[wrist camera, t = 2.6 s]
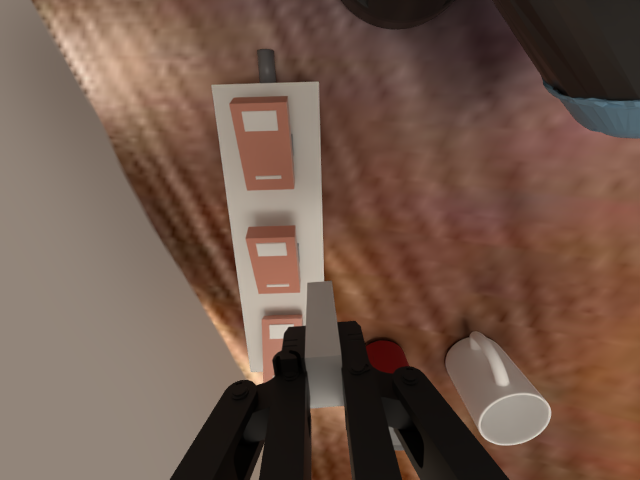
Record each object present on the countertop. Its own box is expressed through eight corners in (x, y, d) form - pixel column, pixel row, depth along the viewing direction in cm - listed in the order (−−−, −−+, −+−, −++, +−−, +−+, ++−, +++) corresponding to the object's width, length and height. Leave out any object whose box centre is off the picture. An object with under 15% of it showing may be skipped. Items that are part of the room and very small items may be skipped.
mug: (434, 321, 42) (470, 378, 32) (494, 305, 41) (548, 360, 32) (447, 384, 46) (482, 452, 36) (502, 371, 45) (552, 437, 36)
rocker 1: (233, 97, 25) (228, 104, 24) (287, 95, 25) (286, 102, 24) (249, 181, 31) (246, 191, 29) (294, 180, 31) (294, 189, 29)
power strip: (218, 57, 31) (199, 43, 26) (317, 54, 31) (318, 40, 26) (255, 351, 43) (247, 379, 38) (325, 349, 43) (326, 376, 38)
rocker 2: (248, 226, 29) (245, 239, 28) (295, 225, 29) (294, 238, 28) (260, 281, 35) (258, 294, 33) (300, 280, 35) (300, 293, 33)
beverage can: (347, 352, 44) (359, 430, 32) (386, 328, 42) (411, 400, 31) (374, 380, 46) (393, 463, 34) (412, 358, 44) (444, 436, 33)
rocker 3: (264, 315, 36) (261, 319, 34) (302, 314, 36) (301, 318, 34) (266, 381, 36) (263, 390, 34) (304, 380, 36) (303, 388, 34)
